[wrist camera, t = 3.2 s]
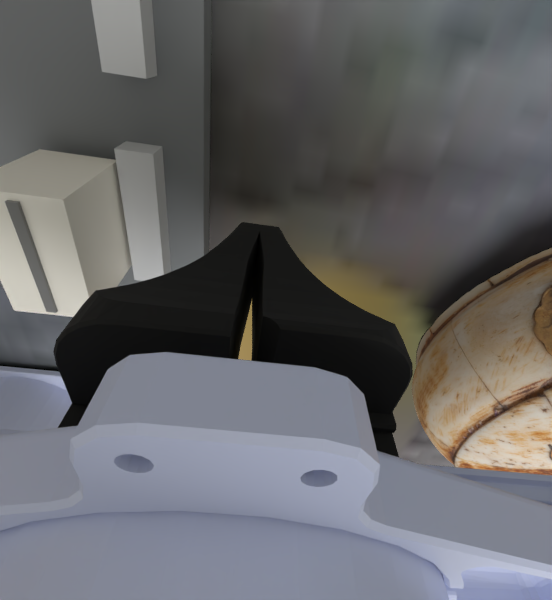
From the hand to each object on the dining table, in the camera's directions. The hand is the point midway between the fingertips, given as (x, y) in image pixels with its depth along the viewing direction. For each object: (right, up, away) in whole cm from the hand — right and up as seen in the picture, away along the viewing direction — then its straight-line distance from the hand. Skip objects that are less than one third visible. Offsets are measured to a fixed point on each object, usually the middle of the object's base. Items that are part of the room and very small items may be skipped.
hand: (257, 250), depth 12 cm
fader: (-6, +1, +1) cm, 6 cm away
